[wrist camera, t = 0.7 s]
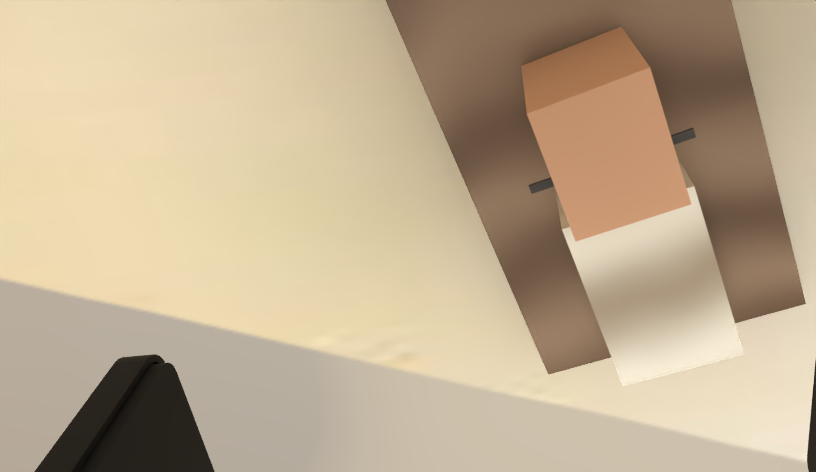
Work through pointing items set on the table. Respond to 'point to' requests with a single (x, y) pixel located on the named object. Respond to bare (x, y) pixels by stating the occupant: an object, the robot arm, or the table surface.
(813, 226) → the table surface
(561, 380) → the table surface
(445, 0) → the ticket board
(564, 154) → the stub
